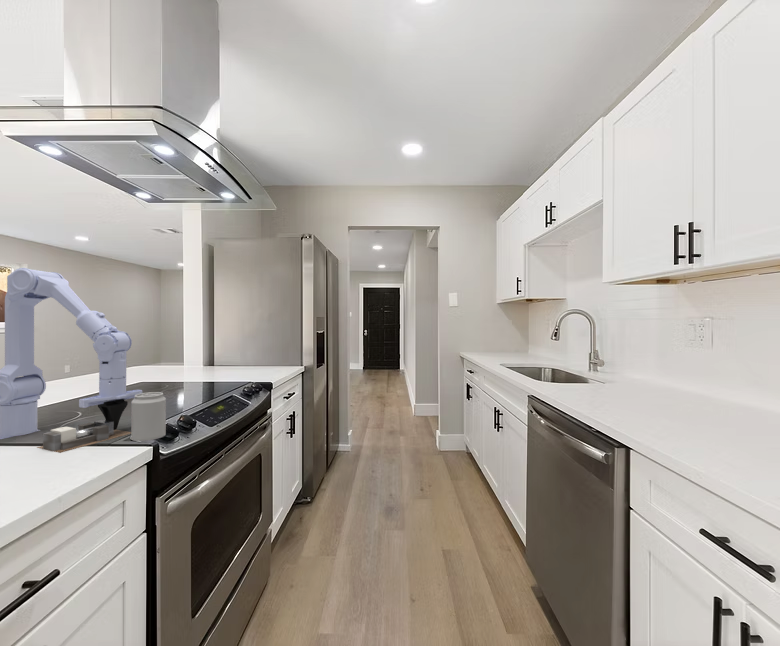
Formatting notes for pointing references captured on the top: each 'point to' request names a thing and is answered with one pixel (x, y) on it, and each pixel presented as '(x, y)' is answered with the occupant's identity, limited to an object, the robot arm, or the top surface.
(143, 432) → the can
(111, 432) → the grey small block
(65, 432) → the spacer
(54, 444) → the bearing bench
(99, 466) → the top surface
